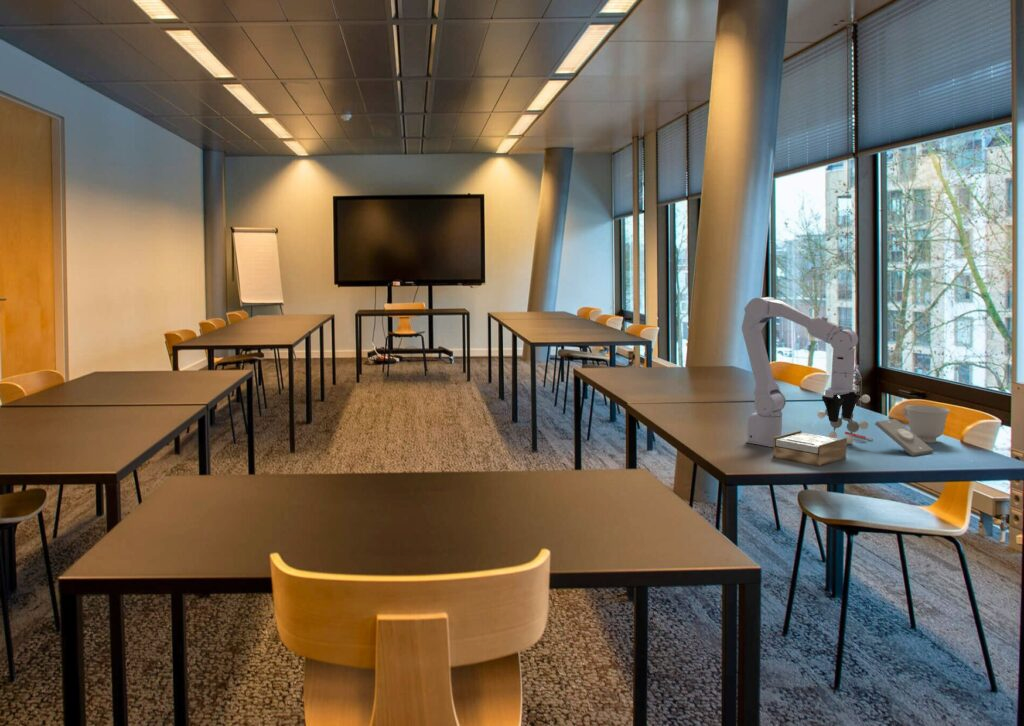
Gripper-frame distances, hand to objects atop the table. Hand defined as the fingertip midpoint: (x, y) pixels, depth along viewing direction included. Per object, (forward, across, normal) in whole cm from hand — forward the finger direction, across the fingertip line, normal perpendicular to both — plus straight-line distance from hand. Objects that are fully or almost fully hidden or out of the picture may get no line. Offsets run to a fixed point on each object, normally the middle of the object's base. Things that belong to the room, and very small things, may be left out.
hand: (840, 419), depth 221 cm
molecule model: (+10, +20, +7) cm, 24 cm away
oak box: (+10, -10, +3) cm, 15 cm away
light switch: (+10, +19, -10) cm, 23 cm away
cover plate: (+6, -10, +3) cm, 13 cm away
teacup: (+10, +37, -8) cm, 39 cm away
